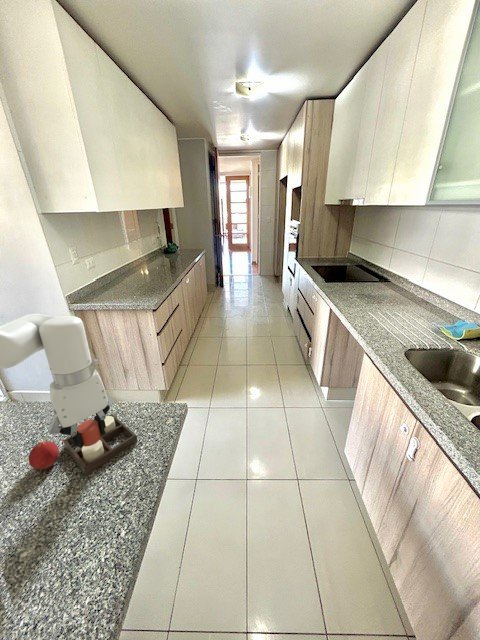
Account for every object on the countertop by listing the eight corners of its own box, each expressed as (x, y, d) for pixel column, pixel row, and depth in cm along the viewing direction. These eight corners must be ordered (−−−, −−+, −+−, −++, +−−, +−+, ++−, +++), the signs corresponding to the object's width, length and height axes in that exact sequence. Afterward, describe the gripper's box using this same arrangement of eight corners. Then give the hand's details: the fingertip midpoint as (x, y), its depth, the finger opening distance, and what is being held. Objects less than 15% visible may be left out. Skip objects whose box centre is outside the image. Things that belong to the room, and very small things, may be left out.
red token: (77, 440, 62) (73, 427, 61) (96, 429, 65) (92, 416, 64) (85, 449, 60) (81, 436, 58) (104, 438, 63) (101, 425, 62)
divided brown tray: (65, 449, 68) (62, 440, 67) (113, 422, 78) (112, 413, 77) (87, 478, 61) (84, 468, 60) (137, 443, 70) (136, 435, 69)
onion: (28, 480, 60) (18, 454, 57) (39, 459, 65) (30, 435, 62) (57, 474, 62) (48, 448, 59) (65, 454, 67) (58, 430, 64)
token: (96, 433, 73) (93, 422, 71) (111, 424, 76) (109, 413, 74) (103, 441, 70) (101, 429, 69) (119, 431, 73) (117, 420, 72)
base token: (81, 459, 64) (78, 447, 63) (99, 448, 68) (97, 436, 66) (89, 469, 62) (86, 457, 60) (108, 457, 65) (105, 445, 64)
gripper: (104, 353, 64) (116, 412, 71) (20, 384, 52) (44, 452, 58) (120, 362, 60) (131, 425, 66) (32, 399, 48) (56, 471, 54)
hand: (90, 437), depth 62 cm, fingers closed on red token, 4 cm apart
